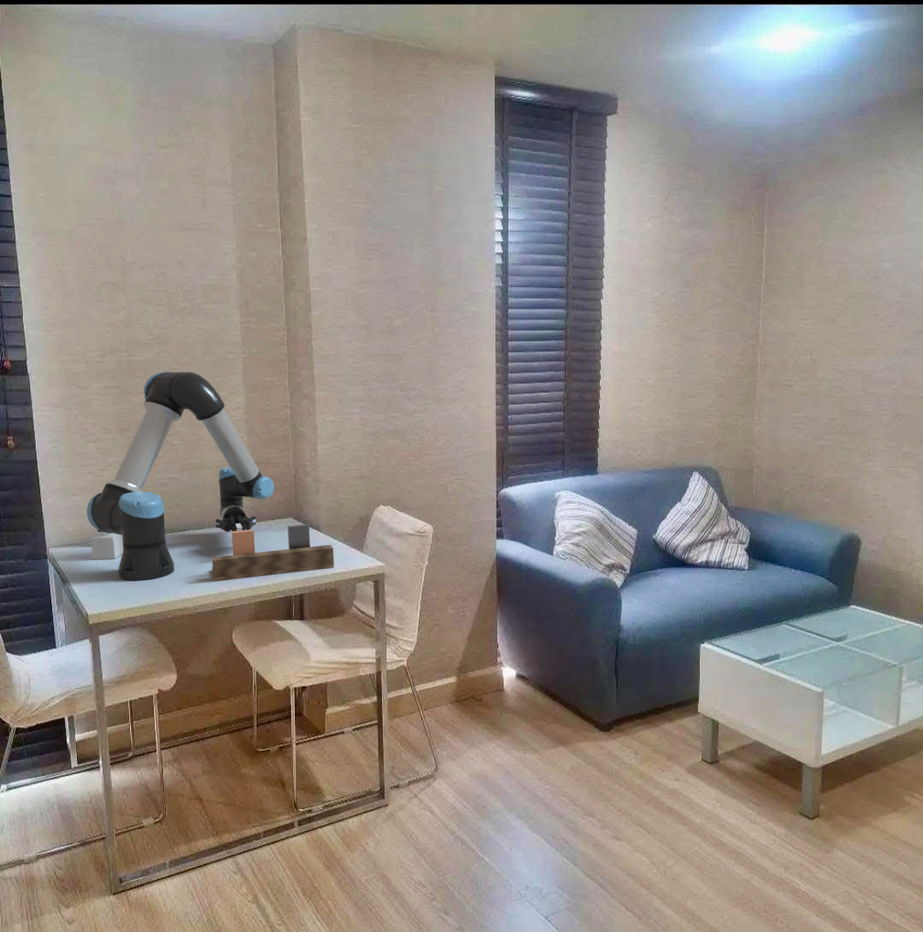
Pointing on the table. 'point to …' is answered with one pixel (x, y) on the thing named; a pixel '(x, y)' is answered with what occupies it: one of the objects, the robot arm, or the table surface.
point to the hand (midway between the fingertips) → (239, 531)
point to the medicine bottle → (106, 545)
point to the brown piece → (272, 562)
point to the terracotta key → (243, 542)
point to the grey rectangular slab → (298, 536)
